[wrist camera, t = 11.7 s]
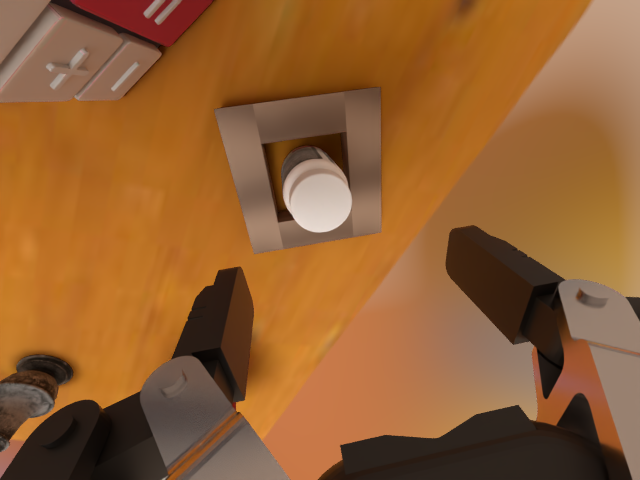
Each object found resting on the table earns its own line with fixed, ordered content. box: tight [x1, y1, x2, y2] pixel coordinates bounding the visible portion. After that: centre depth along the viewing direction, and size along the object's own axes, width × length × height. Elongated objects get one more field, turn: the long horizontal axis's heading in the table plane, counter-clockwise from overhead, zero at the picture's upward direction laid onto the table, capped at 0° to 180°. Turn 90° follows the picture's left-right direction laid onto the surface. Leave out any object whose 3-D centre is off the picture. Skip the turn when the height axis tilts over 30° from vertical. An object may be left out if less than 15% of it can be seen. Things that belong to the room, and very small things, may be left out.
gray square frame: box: [214, 87, 381, 254], centre depth 23 cm, size 12×12×2 cm
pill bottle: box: [281, 146, 352, 232], centre depth 20 cm, size 5×5×8 cm
